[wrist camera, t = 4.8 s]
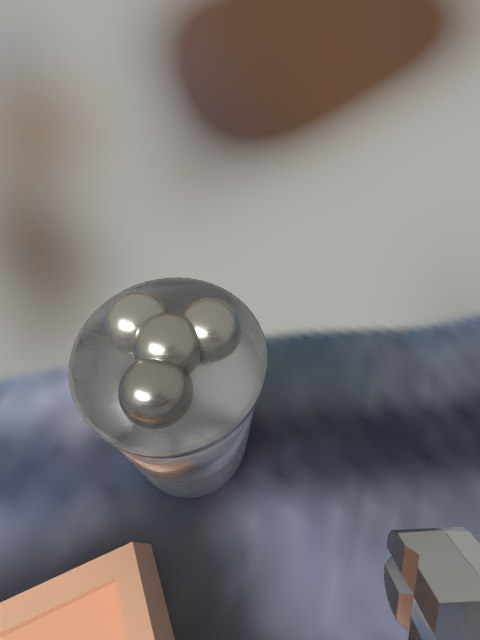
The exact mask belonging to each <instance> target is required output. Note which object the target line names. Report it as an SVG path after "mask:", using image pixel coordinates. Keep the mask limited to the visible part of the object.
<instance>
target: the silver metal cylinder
mask: <svg viewBox="0 0 480 640" xmlns="http://www.w3.org/2000/svg"><path fill="white" fill-rule="evenodd" d="M266 370H267V347H266V341H265V338H264V334H263V331H262V329H261V327H260V325H259V323H258V321H257V319H256V318H255V316H254V315H253V313H252V312H251V311H250V310H249V308H248V307H247V306H246V305H245V304H244V303H243V302H242V301H241V300H240V299H238V298H237V297H236V296H234V295H233V294H232V293H230V292H228V291H227V290H225V289H223V288H221V287H219V286H216V285H214V284H211V283H208V282H205V281H201V280H196V279H191V278H163V279H156V280H151V281H147V282H144V283H141V284H137V285H135V286H132V287H130V288H128V289H126V290H123V291H122V292H120V293H118V294H117V295H115V296H113V297H112V298H110V299H109V300H108V301H106V302H105V303H104V304H103V305H101V306H100V307H99V308H98V309H97V310H96V311H95V312H94V313H93V314H92V315H91V317H90V318H89V319H88V320H87V321H86V323H85V325H84V326H83V328H82V329H81V330H80V332H79V334H78V336H77V338H76V340H75V343H74V345H73V348H72V351H71V356H70V360H69V371H68V378H69V387H70V391H71V395H72V399H73V401H74V403H75V405H76V408H77V410H78V412H79V413H80V415H81V416H82V418H83V419H84V421H85V422H86V423H87V424H88V425H89V426H90V427H91V428H92V429H93V430H94V431H95V432H96V433H97V434H98V435H99V436H100V437H101V438H103V439H104V440H105V441H107V442H108V443H109V444H111V445H113V446H115V447H116V448H118V449H119V450H120V451H121V452H122V453H123V454H124V455H125V456H126V457H127V458H128V459H129V460H130V461H131V462H132V463H133V464H134V465H135V466H136V467H137V468H138V469H139V470H140V471H141V472H142V473H143V474H144V475H145V476H146V477H147V478H148V479H149V480H150V481H151V482H152V483H153V484H154V485H155V486H156V487H157V488H159V489H160V490H162V491H163V492H165V493H167V494H170V495H172V496H176V497H181V498H196V497H201V496H205V495H208V494H210V493H212V492H214V491H216V490H218V489H219V488H221V487H222V486H224V485H225V484H226V483H227V482H228V481H229V480H230V479H231V478H232V477H233V475H234V474H235V473H236V471H237V470H238V468H239V466H240V464H241V462H242V459H243V456H244V453H245V449H246V444H247V440H248V435H249V431H250V427H251V422H252V418H253V413H254V409H255V405H256V403H257V401H258V398H259V396H260V394H261V391H262V387H263V384H264V380H265V376H266Z"/></svg>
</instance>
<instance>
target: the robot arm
mask: <svg viewBox="0 0 480 640" xmlns="http://www.w3.org/2000/svg"><path fill="white" fill-rule="evenodd" d="M387 548H388V550H389V551H390V553H391V555H392V556H391V557H390V559H389V560H388V561H387V562H386V563H385V568H384V582H385V589H386V595H387V598H388V601H389V604H390V607H391V609H392V611H393V614H394V616H395V618H396V620H397V621H398V622H399V623H400V624H401V625H403V626H404V627H405V628H406V629H407V630H408V631H409V638H408V640H480V543H479V542H478V541H477V540H476V539H475V538H474V536H473V535H472V534H471V533H470V532H469V531H468V530H466V529H465V528H463V527H445V528H437V529H436V528H429V529H405V530H391V531H390V533H389V535H388V539H387Z"/></svg>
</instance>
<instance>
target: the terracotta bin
mask: <svg viewBox="0 0 480 640" xmlns="http://www.w3.org/2000/svg"><path fill="white" fill-rule="evenodd" d="M0 640H175V638H174V634H173V630H172V626H171V622H170V618H169V614H168V610H167V606H166V602H165V598H164V594H163V590H162V586H161V582H160V578H159V574H158V570H157V566H156V562H155V558H154V554H153V550H152V546H151V544H148V543H140V542H130V543H128V544H126V545H124V546H122V547H120V548H117V549H115V550H113V551H111V552H109V553H107V554H104V555H102V556H100V557H98V558H96V559H94V560H91V561H89V562H87V563H85V564H83V565H81V566H78V567H76V568H74V569H72V570H70V571H68V572H65V573H63V574H61V575H59V576H57V577H55V578H53V579H50V580H48V581H46V582H44V583H42V584H40V585H37V586H35V587H33V588H31V589H29V590H27V591H24V592H22V593H20V594H18V595H16V596H14V597H11V598H9V599H7V600H5V601H3V602H1V603H0Z"/></svg>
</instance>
